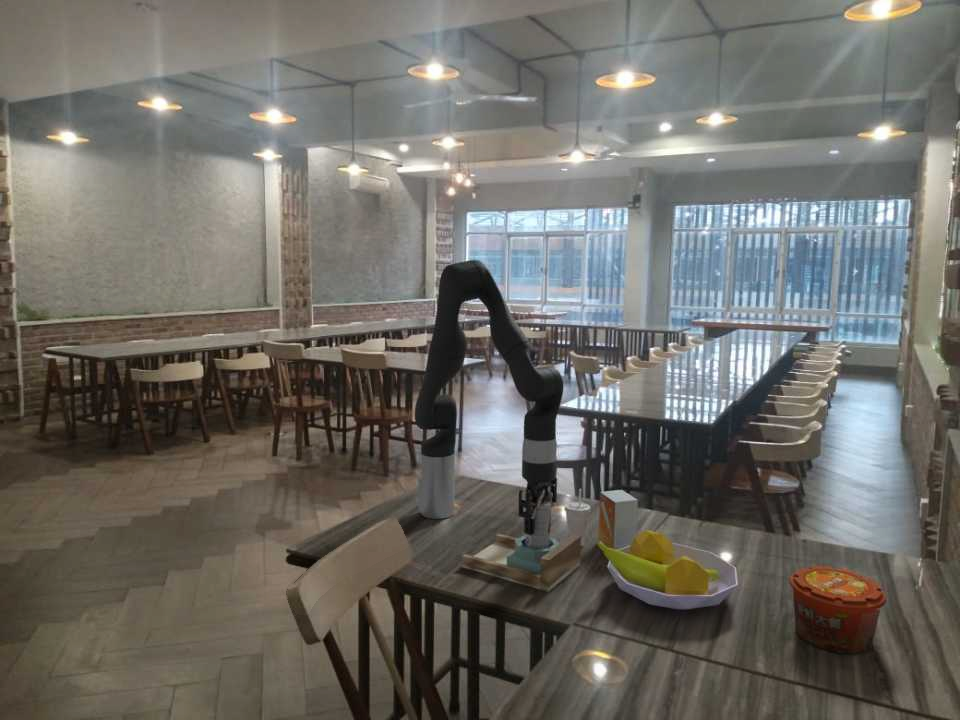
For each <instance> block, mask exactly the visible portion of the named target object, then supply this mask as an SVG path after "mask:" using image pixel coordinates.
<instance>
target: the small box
mask: <svg viewBox="0 0 960 720" xmlns="http://www.w3.org/2000/svg"><path fill="white" fill-rule="evenodd" d="M638 505H639V500H638V499H637V498H636V497H634V496H632V495H631V494H629V493H628V492H626V491H624V490H623V489H615V490H606V491H600V492H599V514H598V516H599V518H598V540H597V541H598V542H602V543H603V544H604V545H605V546H606V547H609V548H612V549H615V550H618V549H621V548H624V547H627V546H630V545H631V543H632V541H633V539H634V537H635V536H637V535H638V533H637V530H638V508H639V507H638Z"/></svg>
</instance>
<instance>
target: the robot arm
mask: <svg viewBox="0 0 960 720" xmlns="http://www.w3.org/2000/svg"><path fill="white" fill-rule="evenodd" d="M438 284H439V285H438V295H437V308H436V315H435V321H434V325H433V326H434V328H433V330H432V331H433V332H432V336H431V341H430V345H429V350H428V354H427V360H426V366H425V371H424V375H423V379H422V383H421V386H420V389H419V392H418V396H417V399H416V402H415V408H414V423H415V424H416V426H417V427H418V428H419V429H420V430H424V431H425V430H426V431H428V430H429V431H431V430H439V431H438V432H437V433H436V434H435V435H433V436H432V437H430V438H428V439H426V440H424V441H422V443H421V444H420V478H419V479H418V481H417V499H418V500H417V506H418V508H417V510H418V511H417V513H418V514H421V516H423V517H424V518H427V519H433V520H436V519H437V520H439V519H447V518H451V517H452V516H454V515H455V507H456V506H455V500H456V499H455V495H456V494H455V492H456V491H455V487H456V486H455V481H456V480H455V478H456V477H455V474H456V473H455V472H456V471H455V468H456V465H455V464H456V463H455V461H456V460H455V456H456V455H455V452H456V450H455V449H456V440H457V439H456V438H457V423H458V422H457V420H458V418H457V417H458V408H457V402H456V399H455V398H454V396H453V395H451V394H439V393H440V392H441V391H442V390H443V388H444V387H445V386H446V385H447V384H448V383H450V382H451V381H452V380H453V379H454V378H455V376H456V375H457V374H458V373H459V372H460V370H461V369H462V367H463V365H464V361H465V357H466V352H467V349H468V340H467V336H466V334H465V332H464V330H463V328H462V326H461V324H460V322H459V315H460V310H461V306H462V305H463V303H465V302H469V301H473V300H477V299H478V300H480V301H481V303H483V305H484V307H485V308H486V309H487V312H488V316H489V330H490V331H489V333H490V337H491V341H492V343H493V346H494V347H495V349H496V350H497V352H498V353H499V355H500V356H501V357H502V359H503V360H504V362H505V363H506V364H507V366H508V370H509V372H510V375H511V376H510V377H511V378H512V380H513V383H514V387H515V388H516V391H517V393H518V394H519V395H520V396H521V398H523V399H525V400H526V401H528V402H531V403H532V402H533V403H534V405H533V406H532V408H531V409H530V410H528V411H527V412H525V415H524V417H523V440H522V441H523V442H522V449H521V450H522V451H521V453H522V454H521V456H522V457H521V477H522V478H523V479H524V481H526V488H525V490H523V489H519V491H518V517H520V518H523V519H524V521H523V522H524V523H523V524H524V525H523V532H524V535H526V534H528V535H533V534H534V530H535V518H534V517H535V514H536V511H537V510H538V509H539V507H540V504H541V502H542V501H545V499H546V500H549V501H550V502H551V509H552V508H553V506H554V504H555V503H557V499H558V493H557V492H558V478H557V442H556V435H557V434H556V433H557V432H556V429H557V428H556V427H557V425H556V423H557V422H556V420H557V416H558V413H559V411H560V407H561V403H562V398H563V394H564V379H563V377H562V374H561V372H560V371H559V370H558V369H556V368H555V367H552V366H544V367H538V368H537V367H535V366H534V365H533V362H534V360H535V359H536V356H537V351H536V349H535V346H533V344H532V343H531V341H530V340H529V339H528V337H527V336H526V334H525V332H523V331H522V329H521V328H520V326H519V325H518V323H517V322H516V320H515V318H514V317H513V315H512V312H511V311H510V309H509V307H508V305H507V302H506V300H505V299H504V297H503V294H502V292H501V290H500V289H499V287H498V284H497V283H496V281H495V279H494V276H493V275H492V272H491V271H490V270H489V267H487V266H486V264H485V263H484V262H483V261H481V260H478V259H473V260H470V259H469V260H466V261H461V262H455V263H451V264H448V265H446V266H445V267H444V268H443V269H442V272H441V274H440V279H439V283H438ZM531 503H536V504H531ZM531 508H533V509H532V512H531Z"/></svg>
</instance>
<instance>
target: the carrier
mask: <svg viewBox="0 0 960 720" xmlns="http://www.w3.org/2000/svg"><path fill="white" fill-rule="evenodd" d="M525 542H526V534H524V535H522V536H521V537H519V538H518V539H517V540H516V541H515V551H513V552H512V553H510V554H509V555H508V556H507V566H511V567H514V568H518V569H522V570H525V571H529V572H533V573H536V574H540V566H541V558H542V557H543V556H544V555H546V554H547V553H548V552H550V551H551V550H552V549H554V548H555V547H556V546H558V545H559V544H560V543H559V542H558V540H557V539H556V537H554V536H553V537H552V536H550V541H549V548H548V549H532V548H528V547H525Z"/></svg>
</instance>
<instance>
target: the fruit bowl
mask: <svg viewBox="0 0 960 720" xmlns="http://www.w3.org/2000/svg"><path fill="white" fill-rule="evenodd" d="M596 545H597V547H598V548H599V549H600V550H602V551H603V555H604V556H605V558H606V559H607V560H608V564H607V569H608V571H609V573H610V574H611V575H612V578H613V579H614V581H615V583H616V585H617V586H618V588H619V590H622V591H623V592H625V593H627V594H629V595H631V596H633V597H635V598H637V599H638V600H641V601H642V602H645V603H646V604H648V605H651V606H655V607H662V608H667V609H672V610H673V609H675V610H679V611H682V610H691V609H699V608H705V607H706V608H707V607H712V606H713V607H714V606H719V605H720V604H721V602H723V601H724V599H726V598H727V597H728V595H729V594H731V593H732V591H733V590H734V589H736V588H737V586H738V584H739V583H738V574H737V567H735V566H734V565H733V564H731V563H729V562H728V561H727V560H724V559H723V558H721V557H720V556H718V555H716V554H715V553H714V552H712V551H708V550H704V549H700V548H699V549H698V548H696V547H691V546H688V545H683V544H679V543H675V542H672V540H671V539H669V538H668V537H667V536H666V535H664V533H661V532H657V531H652V530H649V529H644V530H643V531H642V532H640V533H639V534H638V533H637V535H636V536H635V537H634V539H633V541H632V543H631V545H630V546H627V547H624V548H621V549H618V550H615V549H612V548H609V547H606V546H605V545H604V544H603V543H602V542H599V541H598V542H597V543H596Z"/></svg>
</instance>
